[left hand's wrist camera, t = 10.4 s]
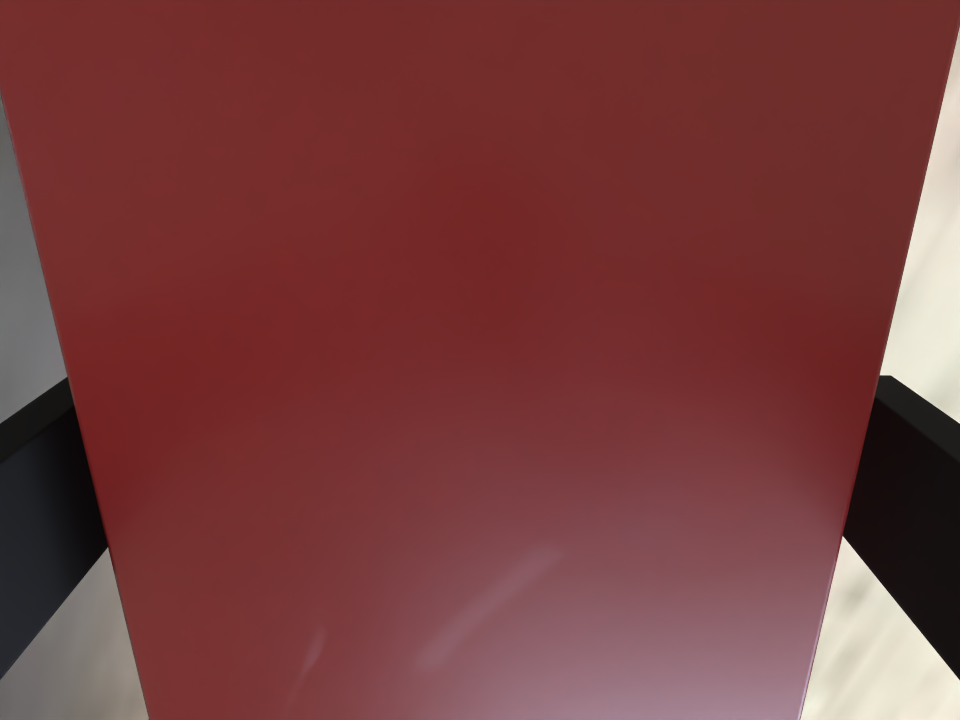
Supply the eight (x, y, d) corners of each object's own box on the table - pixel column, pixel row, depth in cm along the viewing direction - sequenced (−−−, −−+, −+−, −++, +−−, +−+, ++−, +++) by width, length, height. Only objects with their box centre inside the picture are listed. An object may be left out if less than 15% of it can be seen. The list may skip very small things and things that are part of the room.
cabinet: (218, -265, 14) (-243, -908, 5) (730, -264, 15) (1177, -899, 5) (300, 475, 21) (160, 777, 12) (652, 475, 21) (789, 775, 12)
